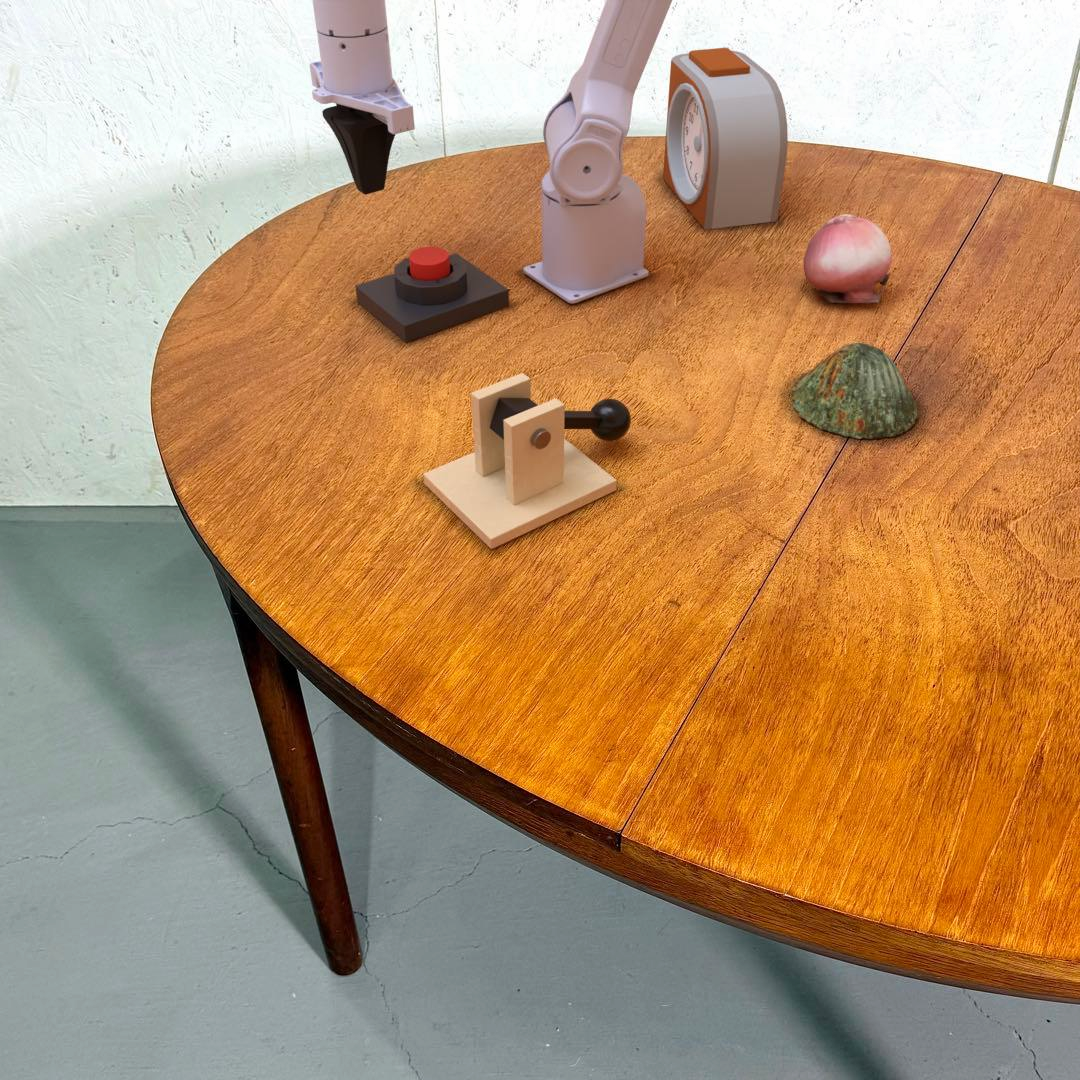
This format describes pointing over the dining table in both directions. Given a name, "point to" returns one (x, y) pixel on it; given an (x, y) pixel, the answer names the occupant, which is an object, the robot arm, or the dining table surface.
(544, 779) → the dining table surface
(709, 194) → the alarm clock
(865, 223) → the onion
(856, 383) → the seashell
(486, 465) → the lever base
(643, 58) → the robot arm
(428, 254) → the button
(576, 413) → the black lever handle
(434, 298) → the control block
